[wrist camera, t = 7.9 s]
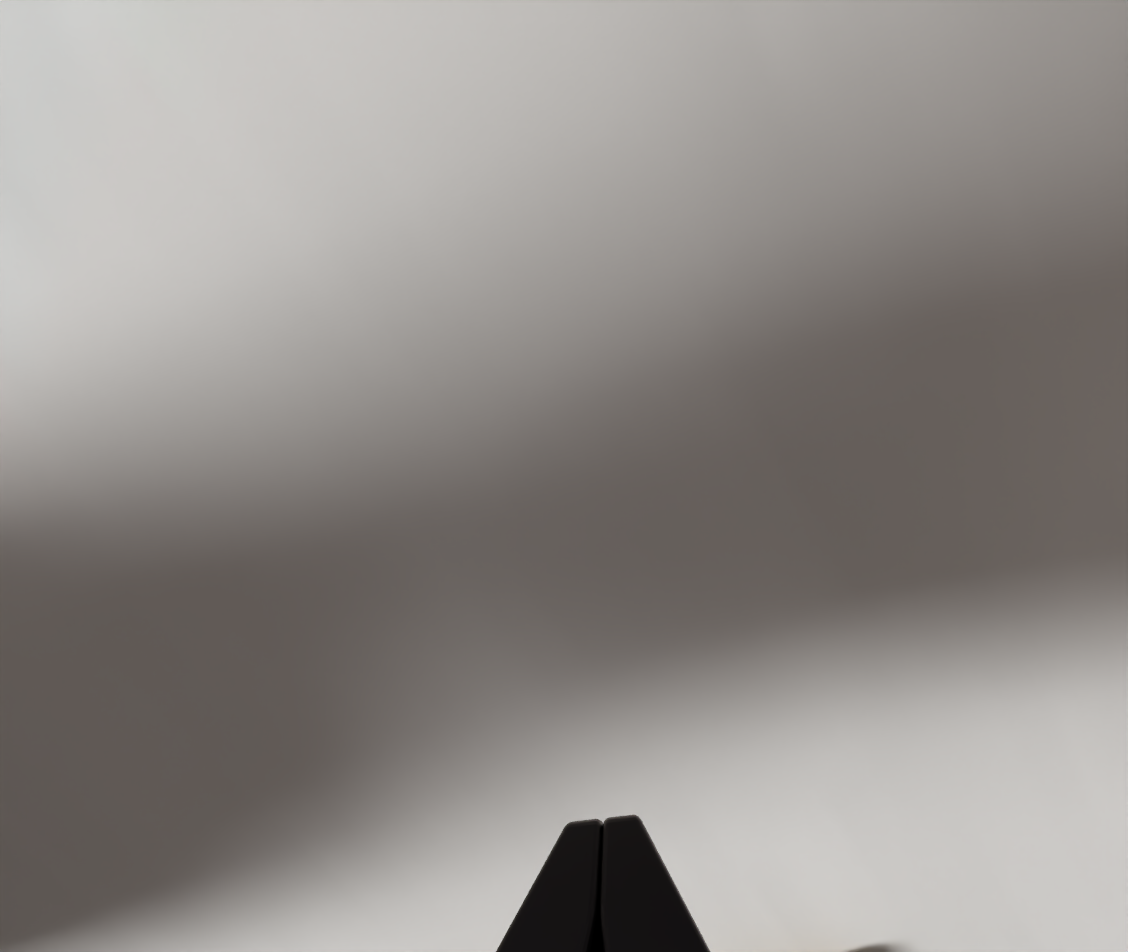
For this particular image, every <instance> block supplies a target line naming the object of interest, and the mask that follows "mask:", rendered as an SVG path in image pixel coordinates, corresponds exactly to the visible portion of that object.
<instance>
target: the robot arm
mask: <svg viewBox="0 0 1128 952" xmlns="http://www.w3.org/2000/svg"><path fill="white" fill-rule="evenodd" d="M496 952H710V950H709V948H708V947H707V945H706V943H705V941H704V939H703V937H702V935H701V933H700V931H699V929H698V927H697V926H696V924H695V922H694V920H693V918H692V916H691V914H690V912H689V910H688V908H687V906H686V905H685V903H684V901H683V899H682V897H681V895H680V893H679V891H678V889H677V887H676V885H675V884H674V882H673V880H672V878H671V876H670V874H669V872H668V870H667V868H666V866H665V864H664V863H663V861H662V859H661V857H660V855H659V853H658V851H657V849H656V847H655V845H654V843H653V842H652V840H651V838H650V836H649V834H648V832H647V830H646V828H645V826H644V824H643V822H642V821H641V819H640V818H639V817H638V816H636V815H628V816H619V817H610V818H607V819H606V820H605V821H604V824H603V823H602V821H600V820H598V819H592V820H583V821H575V822H570V823H568V824H567V825H566V826H565V827H564V829H563V831H562V833H561V835H560V836H559V838H558V840H557V842H556V844H555V845H554V847H553V849H552V851H551V853H550V855H549V856H548V858H547V860H546V862H545V864H544V865H543V867H542V869H541V871H540V873H539V875H538V876H537V878H536V880H535V882H534V884H533V885H532V887H531V889H530V891H529V893H528V895H527V896H526V898H525V900H524V902H523V904H522V905H521V907H520V909H519V911H518V913H517V915H516V916H515V918H514V920H513V922H512V924H511V925H510V927H509V929H508V931H507V933H506V935H505V936H504V938H503V940H502V942H501V944H500V945H499V947H498V949H497V951H496Z"/></svg>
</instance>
